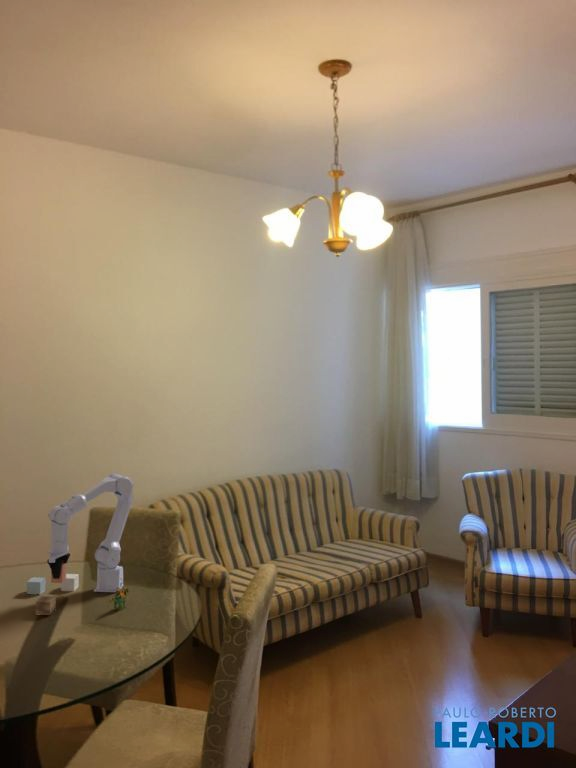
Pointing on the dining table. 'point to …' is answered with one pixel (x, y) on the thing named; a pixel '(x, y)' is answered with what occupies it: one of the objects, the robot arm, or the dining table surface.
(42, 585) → the blue-grey block
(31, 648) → the dining table surface
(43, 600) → the walnut block
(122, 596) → the figurine
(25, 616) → the dining table surface
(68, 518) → the robot arm
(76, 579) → the pale grey block
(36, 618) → the dining table surface
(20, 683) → the dining table surface
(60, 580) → the brick-red block
